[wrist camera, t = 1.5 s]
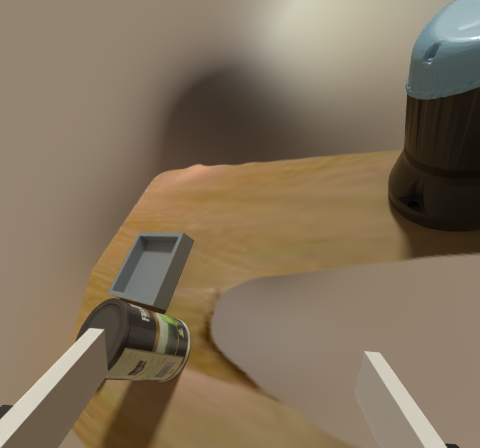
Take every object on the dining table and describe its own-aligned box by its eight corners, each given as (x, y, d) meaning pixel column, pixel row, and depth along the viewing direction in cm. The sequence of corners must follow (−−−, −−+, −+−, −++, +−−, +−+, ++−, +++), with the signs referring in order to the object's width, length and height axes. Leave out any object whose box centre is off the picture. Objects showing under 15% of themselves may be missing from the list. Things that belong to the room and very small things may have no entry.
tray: (150, 239, 63) (139, 232, 60) (194, 240, 54) (183, 232, 51) (121, 298, 55) (107, 293, 53) (166, 310, 47) (152, 305, 44)
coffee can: (164, 311, 47) (102, 290, 37) (200, 329, 41) (138, 309, 31) (137, 366, 43) (60, 359, 33) (173, 394, 37) (92, 396, 27)
